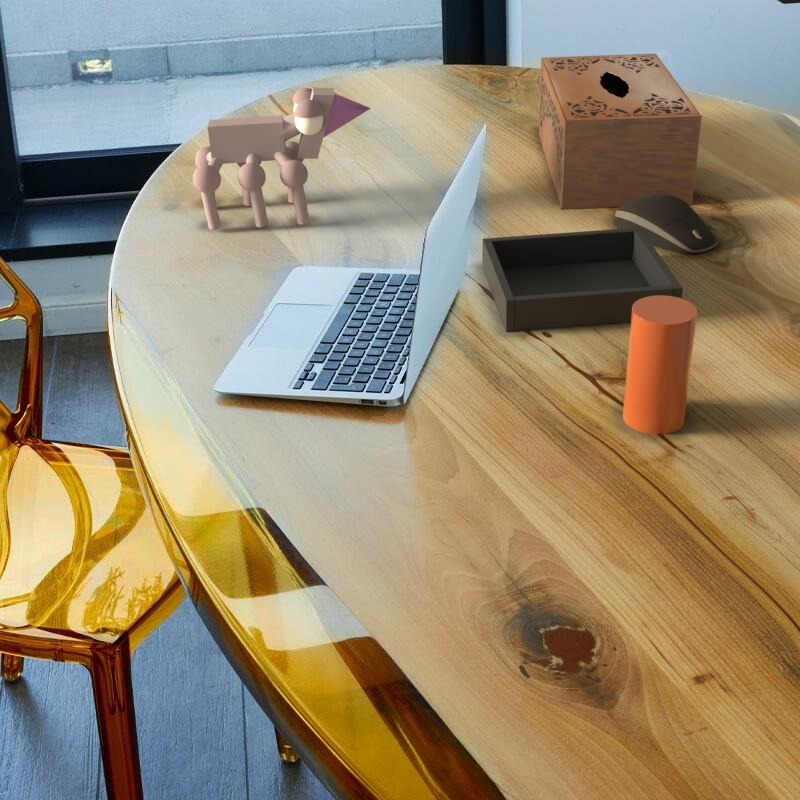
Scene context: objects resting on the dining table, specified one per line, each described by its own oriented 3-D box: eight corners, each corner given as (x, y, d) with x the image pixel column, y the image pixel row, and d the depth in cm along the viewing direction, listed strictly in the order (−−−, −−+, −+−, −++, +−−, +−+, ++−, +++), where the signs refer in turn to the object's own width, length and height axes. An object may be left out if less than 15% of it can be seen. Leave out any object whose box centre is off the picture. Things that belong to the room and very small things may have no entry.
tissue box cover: (691, 204, 120) (701, 116, 114) (561, 209, 120) (565, 120, 115) (649, 131, 141) (655, 53, 136) (538, 134, 142) (541, 57, 137)
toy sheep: (373, 190, 127) (367, 74, 120) (379, 225, 118) (373, 102, 111) (202, 202, 126) (186, 85, 119) (196, 238, 117) (177, 114, 110)
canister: (672, 407, 85) (685, 292, 80) (691, 439, 81) (706, 321, 76) (615, 411, 85) (624, 297, 79) (631, 444, 81) (641, 326, 75)
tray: (637, 262, 108) (640, 227, 106) (678, 326, 96) (683, 287, 94) (482, 273, 107) (482, 238, 105) (505, 339, 95) (506, 300, 93)
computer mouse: (680, 267, 106) (684, 230, 104) (598, 228, 115) (600, 192, 113) (731, 250, 109) (736, 213, 107) (647, 213, 118) (650, 178, 116)
